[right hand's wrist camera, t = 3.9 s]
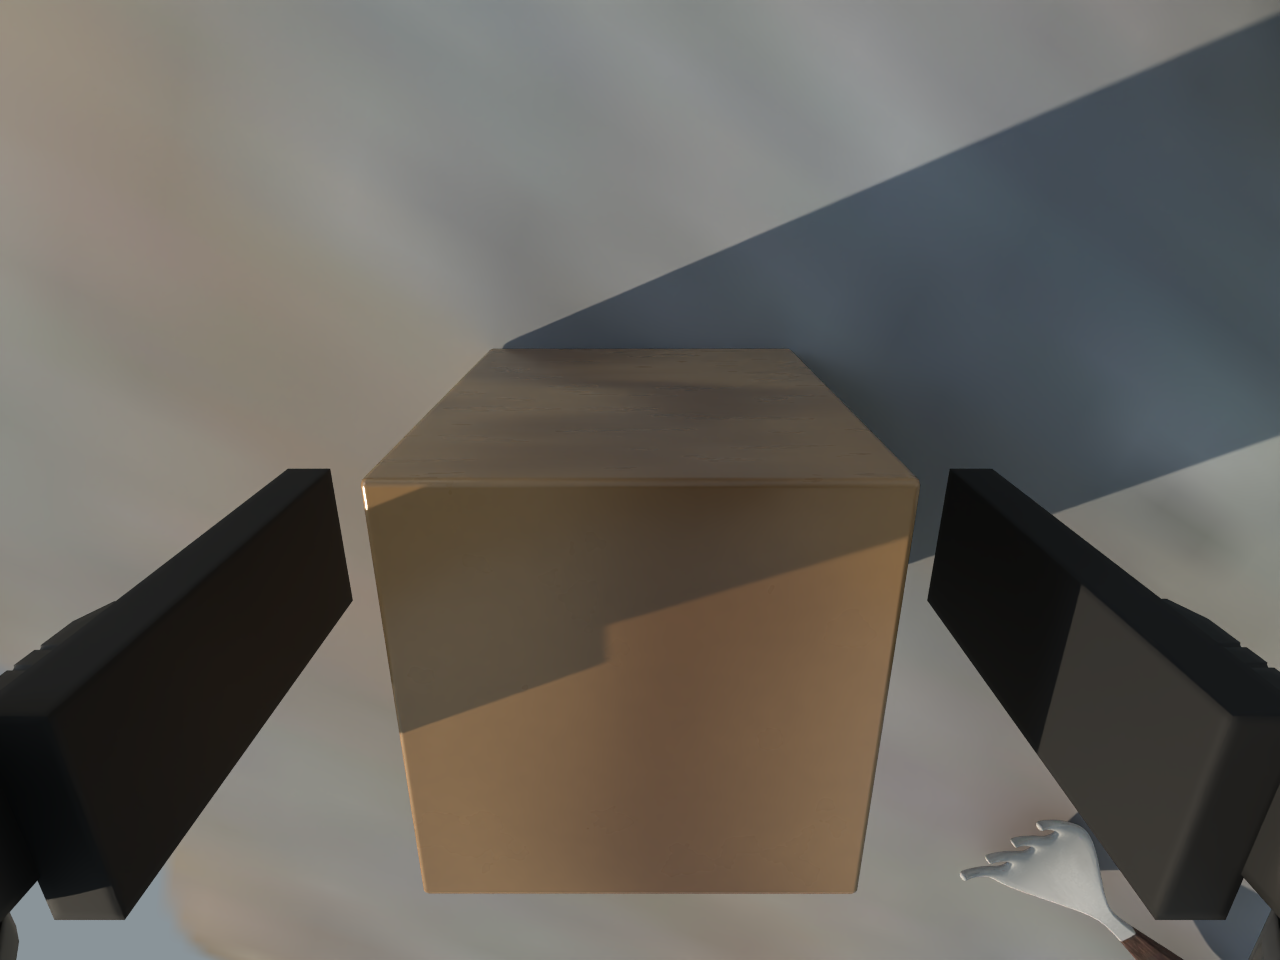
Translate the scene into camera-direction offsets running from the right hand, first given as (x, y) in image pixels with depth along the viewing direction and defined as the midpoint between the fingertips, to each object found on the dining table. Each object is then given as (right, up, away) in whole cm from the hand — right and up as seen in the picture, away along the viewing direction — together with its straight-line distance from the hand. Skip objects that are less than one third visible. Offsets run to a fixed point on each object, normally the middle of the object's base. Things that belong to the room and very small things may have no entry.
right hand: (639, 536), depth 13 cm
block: (0, +1, +2) cm, 2 cm away
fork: (+14, -12, +7) cm, 19 cm away
